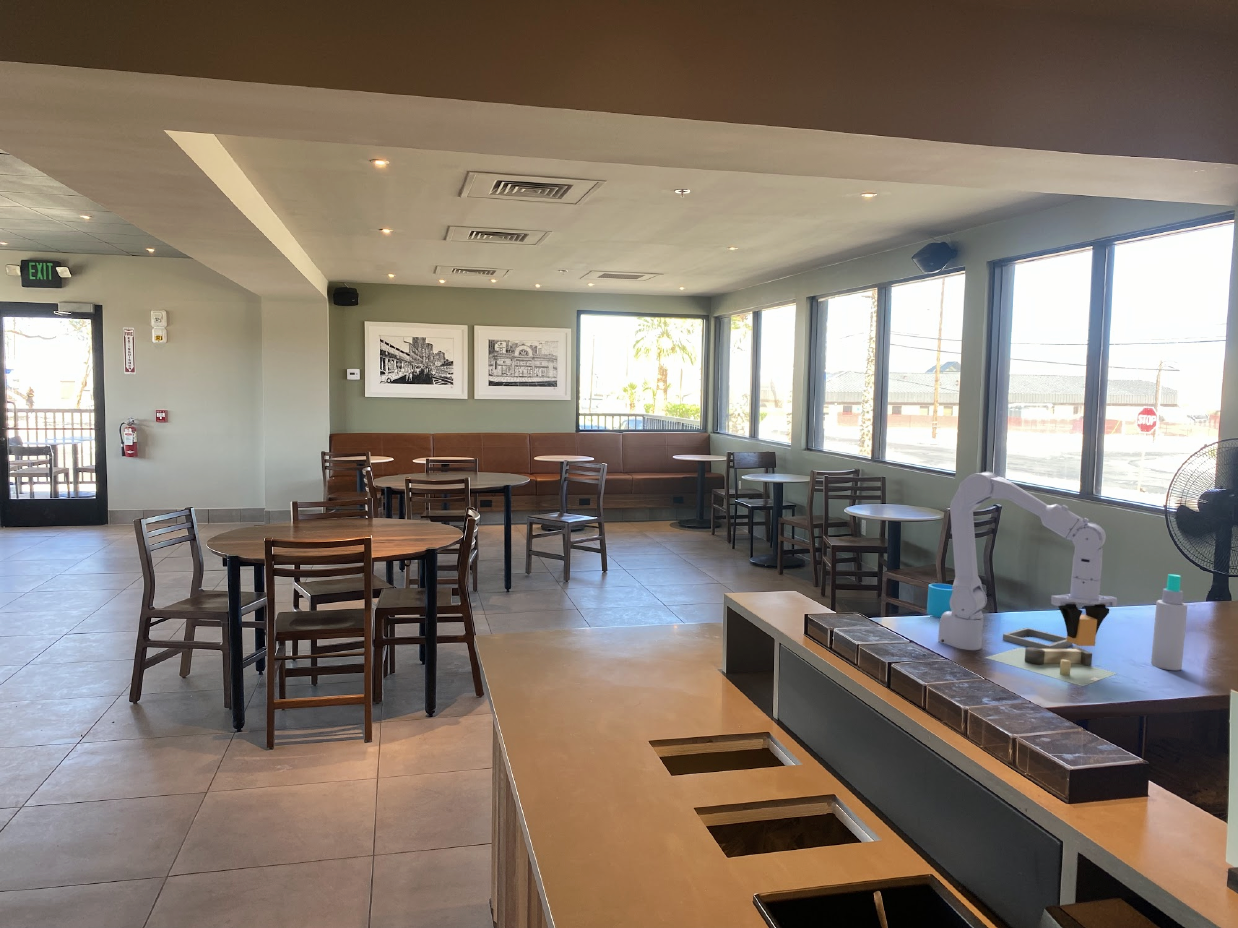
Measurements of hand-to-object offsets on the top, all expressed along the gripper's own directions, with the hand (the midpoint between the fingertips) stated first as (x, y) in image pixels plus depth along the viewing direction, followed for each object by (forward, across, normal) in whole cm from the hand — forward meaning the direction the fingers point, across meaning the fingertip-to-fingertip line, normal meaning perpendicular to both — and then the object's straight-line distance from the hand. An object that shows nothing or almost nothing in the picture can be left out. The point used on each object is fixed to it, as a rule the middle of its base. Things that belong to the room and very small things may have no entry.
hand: (1081, 636), depth 185 cm
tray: (+9, +3, +20) cm, 22 cm away
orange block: (+1, 0, 0) cm, 1 cm away
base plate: (+9, -5, +2) cm, 11 cm away
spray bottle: (+9, +26, +6) cm, 28 cm away
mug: (+9, -4, +50) cm, 51 cm away
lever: (+7, -3, +4) cm, 9 cm away
